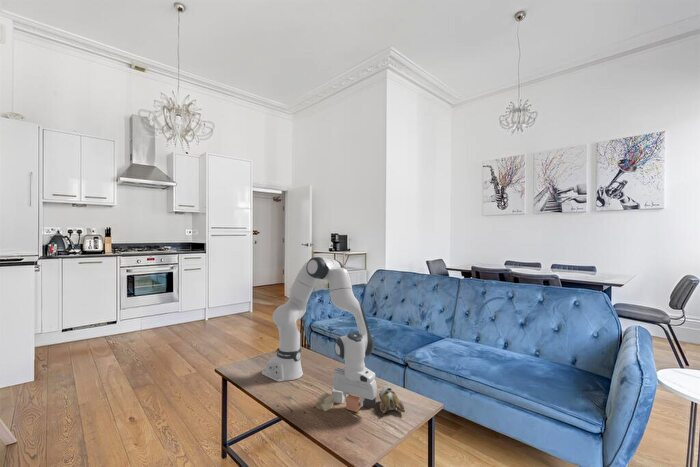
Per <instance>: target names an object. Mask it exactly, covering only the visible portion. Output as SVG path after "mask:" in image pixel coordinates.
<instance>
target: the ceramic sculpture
mask: <svg viewBox="0 0 700 467" xmlns="http://www.w3.org/2000/svg"><path fill="white" fill-rule="evenodd" d="M378 394H379V395H378V396H379V399H380V402H379V407H378V408H379V411H380V413H382V414H385V413H387V412H388V411H394V410H397V411H398V412H402V413H405V412H406V411H405V406H404V403H403V402H402V401H401V400H399V398H398V395H397V394H396V392H395V390H394V389H393V388H392V387H391V386H390V385H388V384H387V383H385V384H384V386H383V387H382V388H381V390H380V392H379V393H378Z"/></svg>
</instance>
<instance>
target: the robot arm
mask: <svg viewBox="0 0 700 467" xmlns="http://www.w3.org/2000/svg"><path fill="white" fill-rule="evenodd" d="M318 280H323V281H325V280H326V281H327V282H328V287H329V298H330V302H331V303H332V304H333V306H334V307H335V308H338V309H339V310H342V311H346V312H348V313H350V314H352V315H353V317H354V320H355V322H356V326H357V329H358V332H349V333H348V334H346V335H342V336H339V337H337V339H336V340H335V342H334V353H335V355H336V356H337V357H338V358H340V359H342V360H344V368H340V367H337V368H334V370H333V380H332V389H333V388H334V389H335V390H338V391H342V392H343V395H344V397H345V399H344V402H345V403H346V397H347V396H348V395H349V394H352V395H356V396H359V397H361V399H362V400H360V401H359V402H358V404H359V405H358V406H361V408H362V407H364V400H365V398H367V399H370V400H373V399H374V398H375V397H376V398H377V396H378V385H377V381H376V379H375V378H376V373H375V371H372V370H371V369H369V368H367V366H366V364H365V358H366V357H369V356H370V355H371V354H372V353H373V352H374V349H375V342H374V339H373V336H372V334H371V332H370V329H369V325H368V321H367V318H366V316H365V311H364V308H363V305H362V302H361V301H360V300H359V299H357V298H356V296H355V294H354V292H353V286H352V280H351V276H350V273H349V271H348V270H347V269H346V268H344V264H343V263H342V262H341V261H339V260H337V259H332V258H329V257H320V256H313V257H311V258H310V259H309V260H308V261H307V262H305V263H304V264H303V265H302V267H301V268H300V270H299V272H298V273H297V275H296V277H295V279H294V281H293V283H292V285H291V287H290V289H289V293H290V294H289V297H288V300H287V301H286V303H284V304H281V305H278V307H277V308H276V309H275V310H274V311H273V312H272V316H271V317H272V321H273V323H274V324H275V325H276V327H277V330H278V334H279V338H278V340H279V345H278V346H279V347H278V348H276V350H275V353H276V354H275V355H274V356H273V357H272V358H270V359H269V360H268V361H267V363H266V367H265V368H264V369H263V370H262V371H261V374H262V375H263V376H265V377H267V378H268V379H271V380H274V381H276V382H278V383H279V382H285V381H293V380H297V379H300V378H301V377H302V376H303V374H304V372H303V368H302V363H301V358H302V348H301V332H300V331H299V330H298V325H297V321H298V320H300V319H302V318H303V316H304V315H305V313H306V312H307V305H308V302H309V299H310V297H311V295H312V293H313V291H314V289H315V287H316V286H317V282H319V281H318Z"/></svg>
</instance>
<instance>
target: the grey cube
mask: <svg viewBox="0 0 700 467" xmlns="http://www.w3.org/2000/svg"><path fill="white" fill-rule="evenodd" d="M331 395H333V404H335V403H336V404H343V403H344V402H345V397H344V395H343V392H342V391H338V390H335V389H334V388H333V387H332V390H331Z"/></svg>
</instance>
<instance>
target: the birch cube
mask: <svg viewBox="0 0 700 467" xmlns="http://www.w3.org/2000/svg"><path fill="white" fill-rule="evenodd" d="M316 406H317V409H319V410H322V411H323V412H328V411H329V410H331V409H332V408H333V407H334V402H333V395H332V393H328V392H326V391H324V392H323V393H321V394H319V395H318V396H317V397H316Z"/></svg>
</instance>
